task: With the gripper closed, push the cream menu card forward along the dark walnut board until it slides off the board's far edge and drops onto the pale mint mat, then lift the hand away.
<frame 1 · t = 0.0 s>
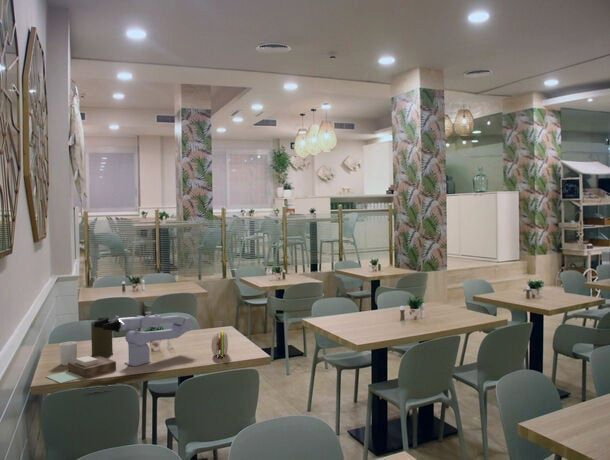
hand: (98, 325, 237), 22 cm above the table, tool horizontal, fingers open, 7 cm apart
hamburger: (219, 355, 266), on the table
board: (92, 370, 241), on the table
white cup: (68, 363, 253), on the table
canister: (102, 355, 268), on the table
mat: (64, 377, 231), on the table
card: (86, 363, 239), point 4 cm above the table, touching board
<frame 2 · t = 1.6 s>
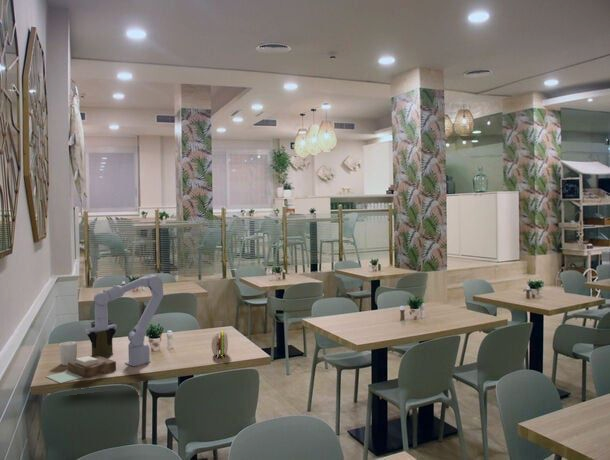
hand: (101, 346, 245), 10 cm above the table, tool pointing down, fingers open, 7 cm apart
nothing on the table moved.
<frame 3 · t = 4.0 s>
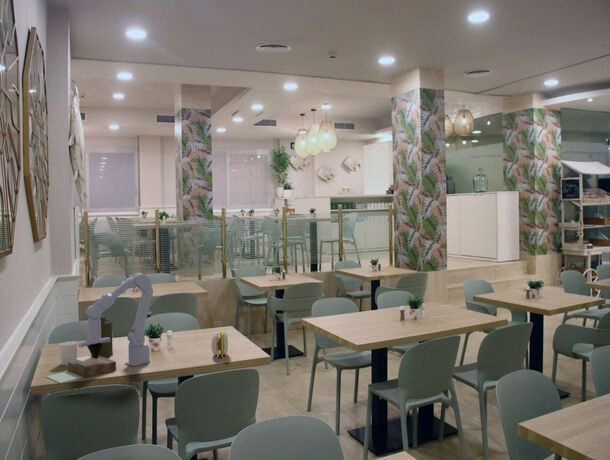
hand: (94, 359, 242), 5 cm above the table, tool pointing down, fingers closed
card: (86, 363, 239), point 4 cm above the table, touching gripper
everything else where it was.
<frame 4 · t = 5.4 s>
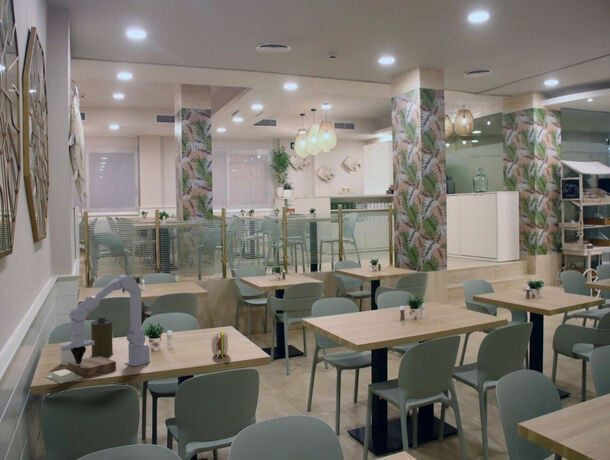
hand: (78, 363, 236), 5 cm above the table, tool pointing down, fingers closed
card: (63, 372, 231), point 2 cm above the table, tilted 180°, touching mat
everything else where it was.
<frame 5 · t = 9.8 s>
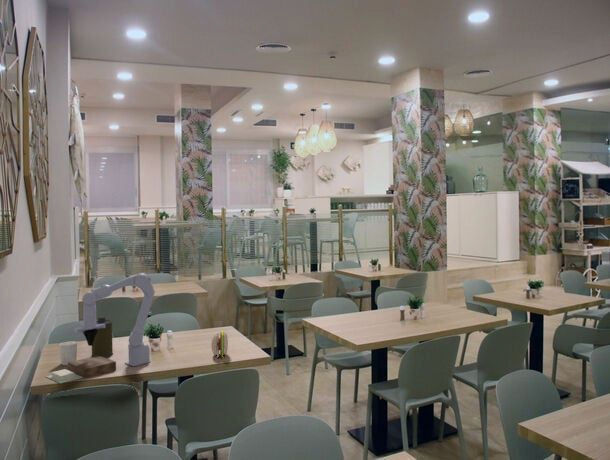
hand: (90, 345, 247), 10 cm above the table, tool pointing down, fingers closed
nothing on the table moved.
at the end: card point 2.3 cm above the table; card inside the target area on the mat (0.5 cm from its centre), point 2.3 cm above the mat's base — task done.
